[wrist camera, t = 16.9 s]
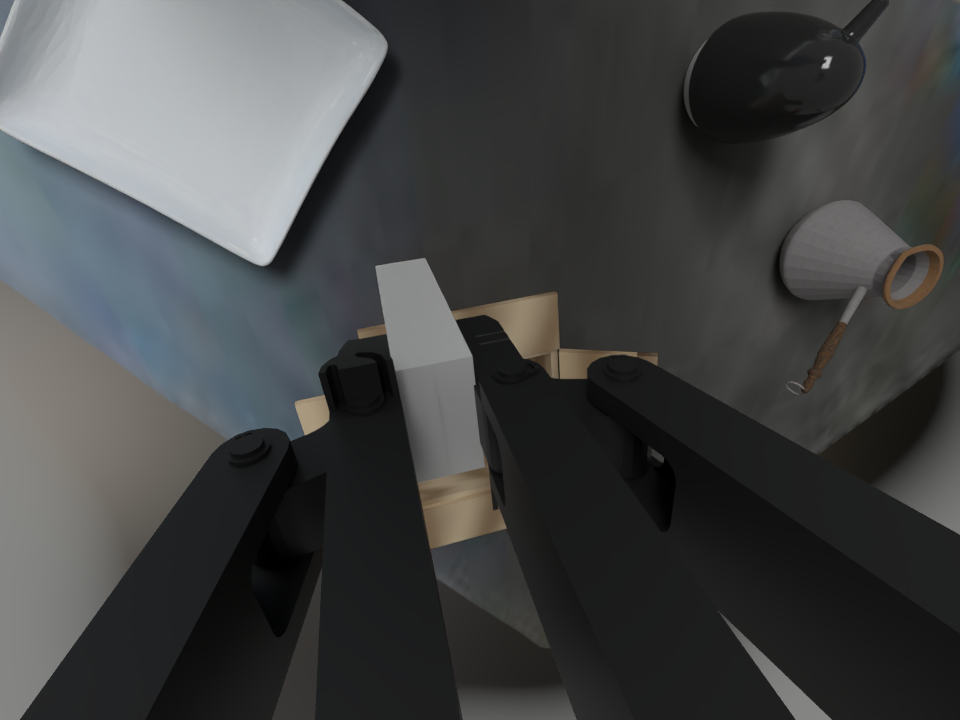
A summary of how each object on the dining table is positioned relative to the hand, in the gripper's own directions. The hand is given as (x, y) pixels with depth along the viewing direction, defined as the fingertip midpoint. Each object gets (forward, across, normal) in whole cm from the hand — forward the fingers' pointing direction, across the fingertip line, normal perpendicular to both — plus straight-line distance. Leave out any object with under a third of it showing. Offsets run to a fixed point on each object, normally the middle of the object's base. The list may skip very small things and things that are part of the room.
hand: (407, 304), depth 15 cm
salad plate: (+35, -11, +8) cm, 37 cm away
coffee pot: (+34, +45, -18) cm, 59 cm away
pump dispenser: (+34, +34, +4) cm, 49 cm away
